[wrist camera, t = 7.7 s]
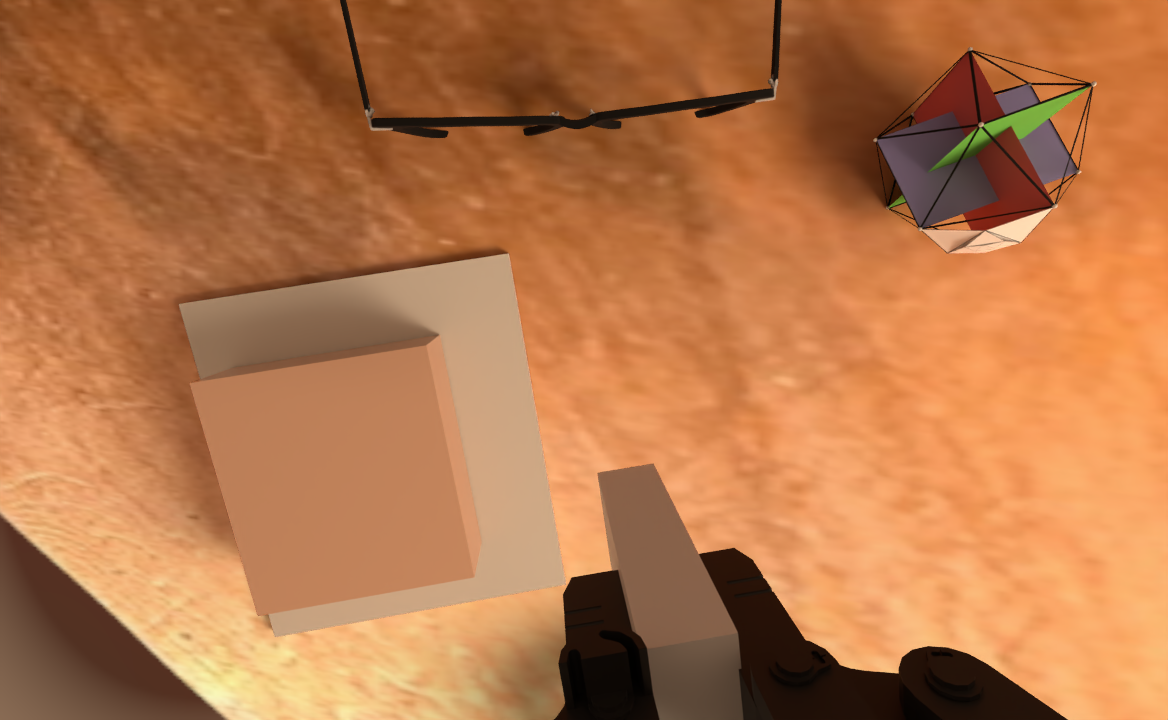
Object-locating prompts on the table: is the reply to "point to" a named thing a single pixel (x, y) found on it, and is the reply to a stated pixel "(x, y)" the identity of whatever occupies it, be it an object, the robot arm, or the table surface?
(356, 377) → the block
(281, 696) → the table surface
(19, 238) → the table surface
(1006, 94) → the geometric puzzle
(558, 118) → the eyeglasses
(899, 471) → the table surface
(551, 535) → the mat
